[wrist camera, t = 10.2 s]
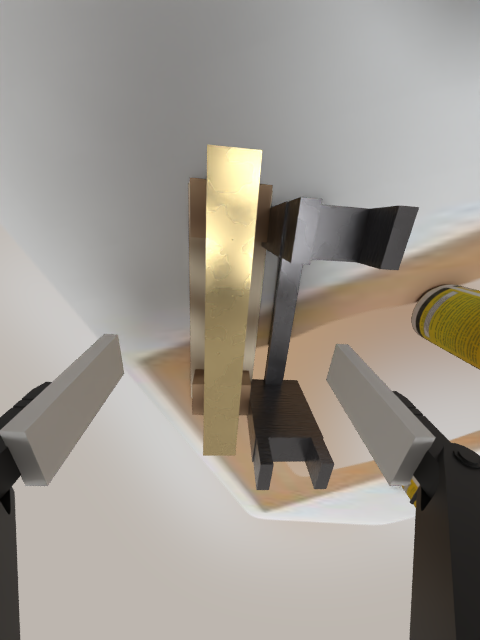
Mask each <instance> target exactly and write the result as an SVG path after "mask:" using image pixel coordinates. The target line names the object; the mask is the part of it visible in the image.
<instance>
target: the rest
mask: <svg viewBox="0 0 480 640" xmlns="http://www.w3.org/2000/svg"><path fill="white" fill-rule="evenodd" d="M272 187H273V185H265V184H259V192H258V204H257V215H256V226H255V237H254V249H253V260H252V271H251V283H250V294H249V305H248V317H247V328H246V339H245V350H244V362H243V373H242V384H241V396H240V407H239V415H248V409H249V400H250V391H251V382H250V381H252V376H253V366H254V358H255V349H256V340H257V331H258V321H259V312H260V303H261V294H262V285H263V275H264V266H265V257H266V249H265V248H263V247H262V246H261V244H262V242H266V243H267V233H268V224H269V215H270V208H271V202H272V193H273V191H272ZM206 204H207V179H199V178H190V183H188V208H189V279H190V351H191V398H192V415H204V359H205V281H206Z"/></svg>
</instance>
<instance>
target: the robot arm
mask: <svg viewBox="0 0 480 640" xmlns="http://www.w3.org/2000/svg"><path fill="white" fill-rule="evenodd" d="M123 374H124V370H123V364H122V358H121V351H120V345H119V339H118V335H113V334H104V335H103V336H102V337H101V338H99V339H98V340H97V341H96V342H95V343H94V344H93V345H92V346H91V347H90V348H89V349H88V350H87V351H85V352H84V353H83V354H82V355H81V356H80V357H79V358H78V359H77V360H76V361H75V362H73V363H72V364H71V365H70V366H69V367H68V368H67V369H66V370H65V371H64V372H63V373H62V374H61V375H59V376H58V377H57V378H56V379H55V380H54V381H53V382H45V383H44V384H42V385H40V386H38V387H36V388H34V389H33V390H31V391H30V392H29V393H28V394H27V395H26V396H25V397H23V398H22V400H20V401H19V402H18V403H16V404H15V405H14V406H13V408H11V409H10V410H8V411H7V412H6V413H5V414H4V415H3V416H1V417H0V640H20V623H19V600H18V598H19V597H18V571H17V545H16V521H15V495H14V490H13V488H12V485H13V484H14V483H15V482H16V480H17V479H18V478H19V477H20V476H21V477H22V480H23V482H24V484H25V485H26V486H48V485H49V483H50V482H51V480H52V479H53V477H54V476H55V474H56V473H57V472H58V470H59V469H60V467H61V466H62V464H63V463H64V461H65V460H66V458H67V457H68V455H69V454H70V452H71V451H72V449H73V448H74V446H75V445H76V444H77V442H78V440H79V439H80V438H81V436H82V435H83V433H84V432H85V430H86V429H87V427H88V426H89V424H90V423H91V421H92V420H93V418H94V417H95V416H96V414H97V413H98V411H99V410H100V408H101V407H102V405H103V403H104V402H105V401H106V399H107V398H108V396H109V395H110V393H111V392H112V391H113V389H114V388H115V386H116V385H117V383H118V382H119V380H120V379H121V377H122V376H123ZM326 380H327V382H328V383H329V385H330V387H331V388H332V390H333V392H334V394H335V395H336V397H337V398H338V400H339V402H340V404H341V405H342V407H343V408H344V410H345V412H346V414H347V415H348V417H349V419H350V420H351V422H352V423H353V425H354V427H355V428H356V430H357V432H358V434H359V435H360V437H361V439H362V440H363V442H364V444H365V445H366V447H367V448H368V450H369V452H370V454H371V455H372V457H373V459H374V460H375V462H376V464H377V465H378V467H379V469H380V470H381V472H382V474H383V475H384V477H385V479H386V480H387V482H388V484H389V485H390V486H408V484H409V482H410V481H411V479H412V477H413V476H414V477H415V478H416V480H417V481H418V483H419V484H420V485H419V487H418V489H417V490H416V492H415V493H414V495H413V497H412V498H411V501H410V503H411V504H414V502H415V501H416V519H415V539H414V559H413V580H412V582H413V583H412V600H411V622H410V640H480V456H479V455H478V454H476V453H475V452H474V451H472V450H470V449H468V448H466V447H465V446H462V445H459V444H456V443H451V442H450V441H449V440H448V439H447V438H446V437H445V436H444V435H443V434H442V433H441V432H440V431H439V430H438V429H437V428H436V427H435V426H434V425H433V424H432V423H431V422H430V421H429V420H428V419H427V418H426V417H425V416H423V414H422V413H421V412H420V411H419V410H418V409H416V407H415V406H414V405H413V404H412V403H411V402H410V401H409V400H408V399H407V398H406V397H404V396H403V395H401V394H399V393H398V392H397V391H391V390H390V389H389V388H388V386H387V385H386V384H385V383H384V382H383V381H382V380H381V379H380V378H379V377H378V376H377V375H376V374H375V373H374V372H373V370H372V369H371V368H370V367H369V366H368V365H367V364H366V363H365V362H364V361H363V360H362V359H361V358H360V357H359V356H358V354H357V353H356V352H355V351H354V350H353V349H352V348H351V347H350V346H349V345H348V344H336V346H335V350H334V354H333V358H332V361H331V365H330V368H329V372H328V375H327V379H326Z"/></svg>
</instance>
